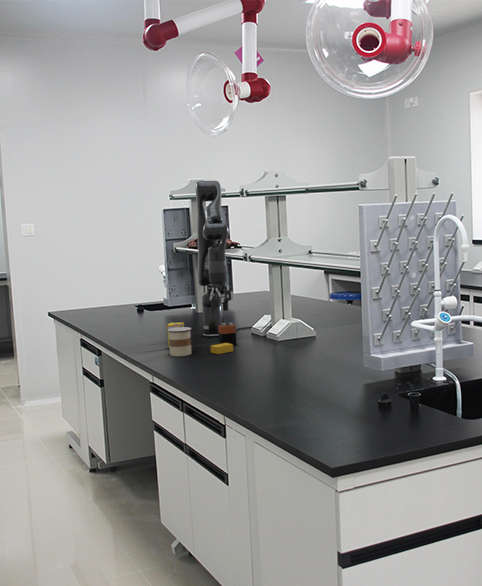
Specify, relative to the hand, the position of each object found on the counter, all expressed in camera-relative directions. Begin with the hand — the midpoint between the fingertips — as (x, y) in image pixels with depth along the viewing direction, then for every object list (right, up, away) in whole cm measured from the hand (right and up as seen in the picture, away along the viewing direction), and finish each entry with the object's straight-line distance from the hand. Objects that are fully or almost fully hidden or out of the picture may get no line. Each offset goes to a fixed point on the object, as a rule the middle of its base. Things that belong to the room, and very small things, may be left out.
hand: (219, 309), depth 294 cm
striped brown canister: (-16, -19, 0) cm, 25 cm away
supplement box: (-21, -17, +14) cm, 30 cm away
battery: (+1, -16, +16) cm, 23 cm away
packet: (+1, -18, +2) cm, 18 cm away
